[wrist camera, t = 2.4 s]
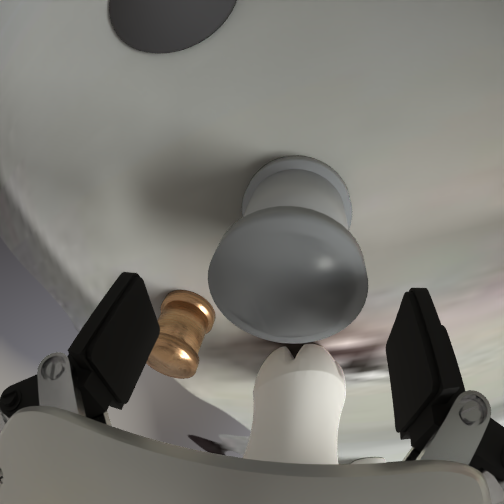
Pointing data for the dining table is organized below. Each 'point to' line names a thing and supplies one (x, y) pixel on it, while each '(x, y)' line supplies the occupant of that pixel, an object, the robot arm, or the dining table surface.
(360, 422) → the dining table surface
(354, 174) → the dining table surface
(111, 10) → the pad
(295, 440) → the water bottle
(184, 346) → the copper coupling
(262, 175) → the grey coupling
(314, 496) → the robot arm
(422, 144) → the dining table surface
